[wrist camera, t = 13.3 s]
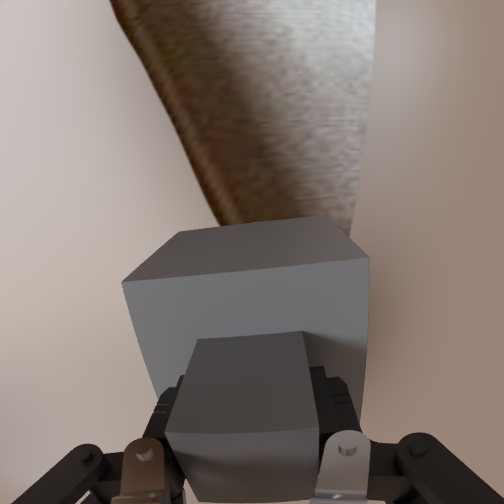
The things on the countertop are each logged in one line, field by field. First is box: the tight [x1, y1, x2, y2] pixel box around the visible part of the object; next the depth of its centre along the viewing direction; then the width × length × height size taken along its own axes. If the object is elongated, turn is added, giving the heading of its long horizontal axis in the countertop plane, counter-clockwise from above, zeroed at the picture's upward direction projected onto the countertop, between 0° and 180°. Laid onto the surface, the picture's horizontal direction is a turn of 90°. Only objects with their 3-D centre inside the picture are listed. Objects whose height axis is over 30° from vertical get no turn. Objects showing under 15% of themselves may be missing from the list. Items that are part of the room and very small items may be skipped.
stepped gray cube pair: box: [121, 215, 369, 503], centre depth 14 cm, size 9×9×14 cm
